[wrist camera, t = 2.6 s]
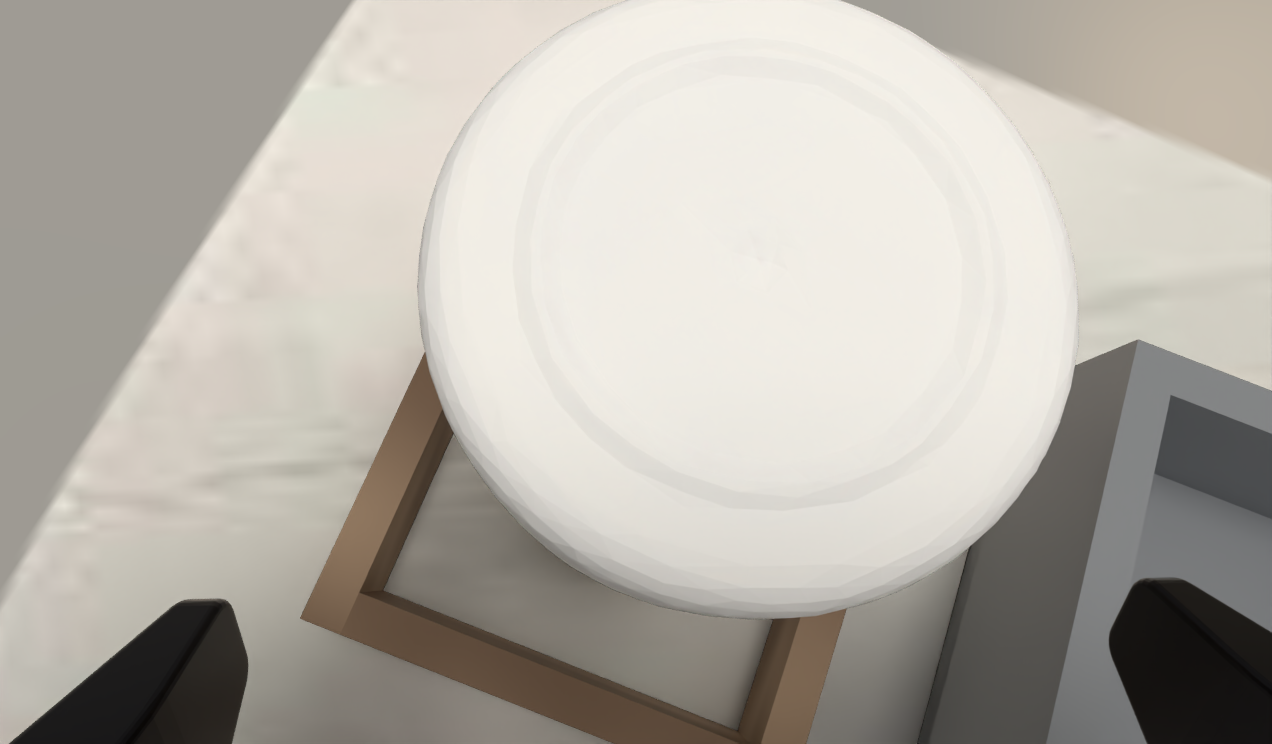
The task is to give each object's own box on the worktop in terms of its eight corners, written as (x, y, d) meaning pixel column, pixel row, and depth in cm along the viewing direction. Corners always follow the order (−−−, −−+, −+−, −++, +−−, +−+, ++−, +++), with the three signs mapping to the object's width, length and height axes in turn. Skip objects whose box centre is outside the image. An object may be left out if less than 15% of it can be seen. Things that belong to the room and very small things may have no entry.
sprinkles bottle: (688, 357, 19) (940, -111, 6) (759, 547, 18) (1236, 477, 5) (497, 419, 18) (320, 42, 5) (561, 620, 17) (532, 751, 4)
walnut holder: (761, 784, 17) (785, 811, 15) (330, 613, 17) (300, 618, 15) (890, 366, 19) (926, 343, 17) (511, 219, 20) (505, 180, 18)
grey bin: (1376, 1057, 17) (1662, 1229, 12) (886, 862, 17) (996, 963, 12) (1435, 556, 19) (1687, 551, 15) (1011, 391, 19) (1138, 339, 15)
